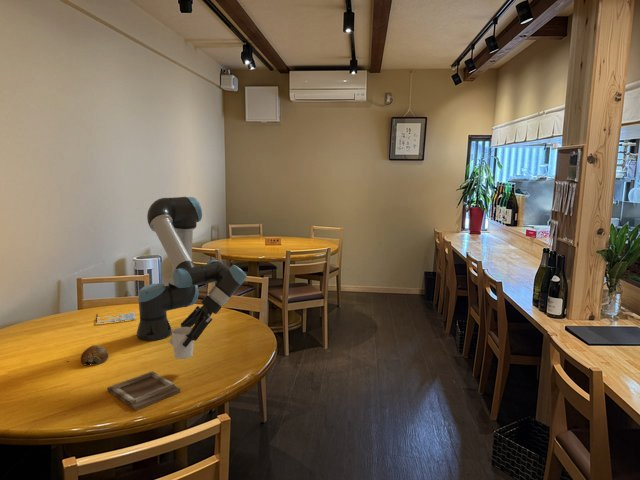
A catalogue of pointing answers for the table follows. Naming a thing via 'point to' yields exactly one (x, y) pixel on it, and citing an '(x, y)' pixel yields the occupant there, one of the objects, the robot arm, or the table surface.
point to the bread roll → (94, 355)
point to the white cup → (178, 336)
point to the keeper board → (143, 390)
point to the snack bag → (127, 317)
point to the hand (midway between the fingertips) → (174, 348)
